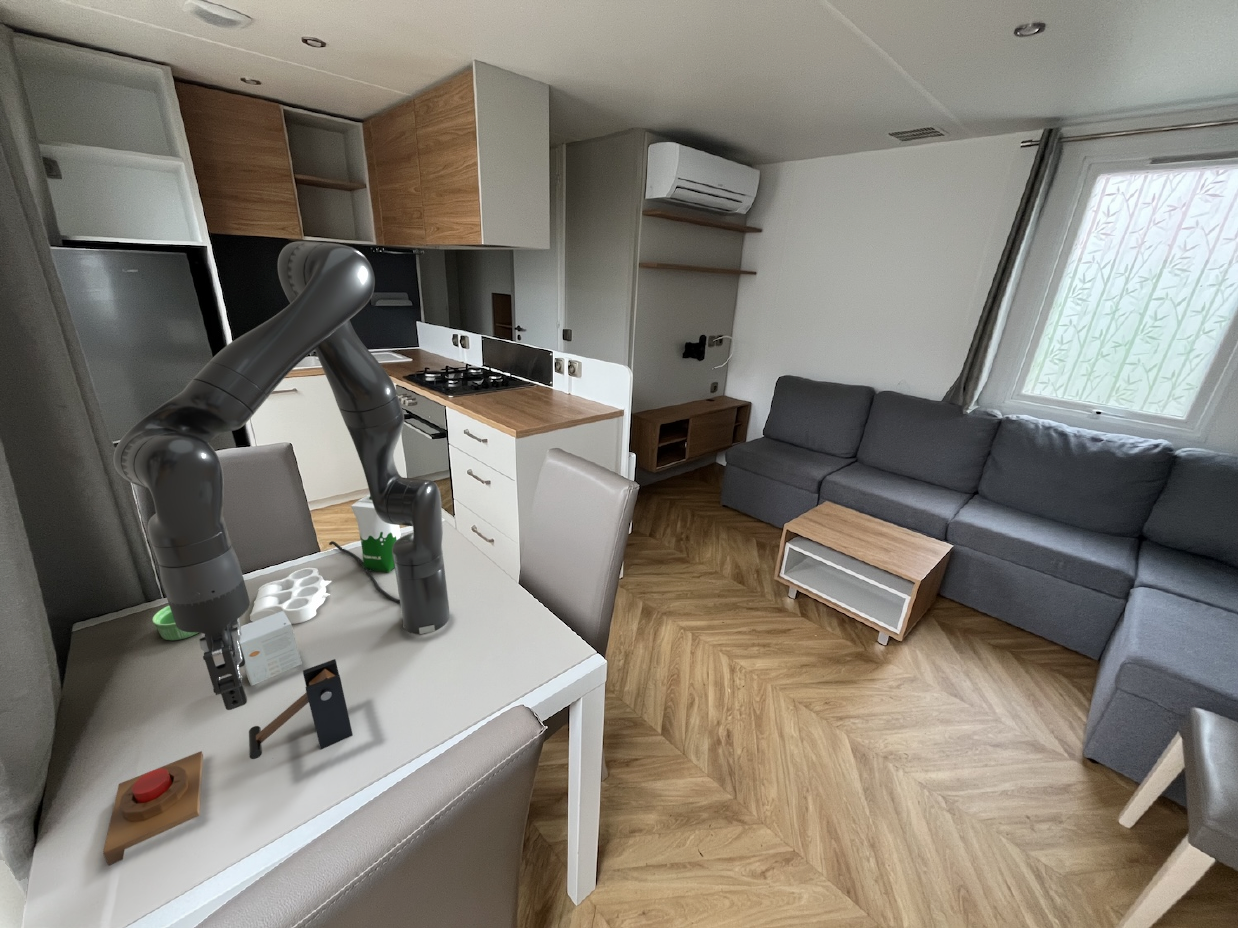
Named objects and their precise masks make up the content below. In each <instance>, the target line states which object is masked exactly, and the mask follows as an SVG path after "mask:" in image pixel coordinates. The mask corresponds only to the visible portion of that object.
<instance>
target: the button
mask: <svg viewBox="0 0 1238 928" xmlns="http://www.w3.org/2000/svg"><path fill="white" fill-rule="evenodd" d="M155 769H156V770H155ZM155 769H153V770H149V771H148V773H147V772H146V773H147V774H145V773H144V774H145V775H143V776H142V777H141V778H139V779H138V780H137V781H136V782H135V784H134V785H133V787H132V792H133V794H134V796H135V799H136V801H137V802H139V803H147V802H149V801H151V800H154V799H156V798H158V797H159V796H160V795H162V794H163V793H165V792H166V791H167V790H168V789H169V787H170V786H171V783H172V780H171V778H170V775H169V773H168V771H167V770H166V769H158V768H155Z"/></svg>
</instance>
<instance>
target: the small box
mask: <svg viewBox="0 0 1238 928" xmlns="http://www.w3.org/2000/svg"><path fill="white" fill-rule="evenodd" d="M240 628H241V634H242V635H241V638H240V641H239V642H240V645H241V648H242V651H243V655H244V658H245V665H244V666H243V669H244V672H245V674H246V677H247V680H248V682H249V685H250V686H251V687H252V686H255V685H257V684H259V683H262V682H264V681H267V680H269V679H270V678H273V677H275V676H278V675H280V674H282V673H284V672H287V671H290V670H292V669H294V668H296V667H298V666H301V665H303V662H302V659H301V655H300V652H299V648H298V644H297V640H296V636H295V632H294V628H293V624H291V623H290V621H289V619H288V618H287V616H286V614H285V612H284V611H281V612H278V613H276V614H273V615H270V616H267V617H265V618H262V619H259V620H257V621H254V622H252V621H251V622H249V623H246V624H244V625H240Z"/></svg>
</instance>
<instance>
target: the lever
mask: <svg viewBox="0 0 1238 928" xmlns="http://www.w3.org/2000/svg"><path fill="white" fill-rule="evenodd" d="M333 676H335V675H334V674H332V673H331V672H329V671H328V670H326V669H324V670H323V671H322V672H321V673H319V674H318V675H317V676H316V677H315V678H314V679H312V680H311V681H310V682H309V685H312V684H315V683H317V682H320V681H323V680H325V679H328V678H331V677H333ZM308 704H309V701H308V697H307V693H306V692H305V693H304V694H302V695H301V696H300V697H299V698H298V699H296V700H295V701H294V702H293V703H292V704H290V705H289V706H288V707H287V708H286V709H285V710H284V711H282V712H281V713H280V714H279V715H277V717H276V718H274V719H273V720H272V721H271V722H269V723H268V724H267V725H266V726H265V727H264V728H262V729H261V727H260V726H259V725H255V726H252V727H251V728H249V730H248V755H249V756H248V757H249V759H250V760H258V758H260V757H261V756H262V754H263V744H262V743H264V742H265V741H266V740H267V739H268V738H269V737H271V736H272V735H273V734H274V733H275V732H276V731H277V730H278V729H280V728H281V727H282V726H283V725H284V724H286V723H287V722H288V721H289V720H290V719H292V718H293V717H294V716H295V715H296V714H297V713H298V712H299V711H301V710H303V708H305V707H306V706H307V705H308Z"/></svg>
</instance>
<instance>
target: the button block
mask: <svg viewBox="0 0 1238 928" xmlns="http://www.w3.org/2000/svg"><path fill="white" fill-rule="evenodd" d="M203 766H204V753H203V751H202V750H201V751H197V752H195V753H193V754H191V755H188V756H185V757H183V758H180V759H178V760H175V761H173V762H171V763H167V764H166V765H163V766H160V767H158V768H155V769H154V770H156V769H166V770H167V771H168V773H169V775H170V778H171V780H172V783H171V786H170V787H169V789H168V790H167V791H166V792H165V793H163V794H162V795H160V796H159V797H158V798H156V799H154V800H151V801H149V802H147V803H139V802H137V801H136V799H135V796H134V794H133V792H132V787H133V785H134V784H135V782H136V781H137V780H138V779H139V778H141V777H142V776H143V775H145V774H147V773H148V772H149V771H148V772H145V773H142V774H140V775H138V776H134V777H131V778H130V779H127V780H125V781H123V782H120V783H119V784H118V786H117V791H116V794H115V800H114V803H113V808H112V812H111V815H110V816H111V817H110V820H109V821H110V822H109V826H108V830H107V834H106V838H105V843H104V847H103V851H102V855H103V857H104V859H105V861H106V863H107V865H108V866H111V865H113V864H116V863H118V862H120V861H123V860H124V855H125V851H126V849H129V848H131V847H133V846H135V845H138V844H140V843H143V842H144V841H146V840H148V839H151V838H153V837H155V836H157V835H159V834H162V833H164V832H166V831H169V830H172V828H175V827H177V826H179V825H182V824H184V823H187V822H189V821H190V820H193V819H194V818H197V817H199V816H200V810H201V809H200V808H201V795H202V782H203V781H202V780H203Z"/></svg>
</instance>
